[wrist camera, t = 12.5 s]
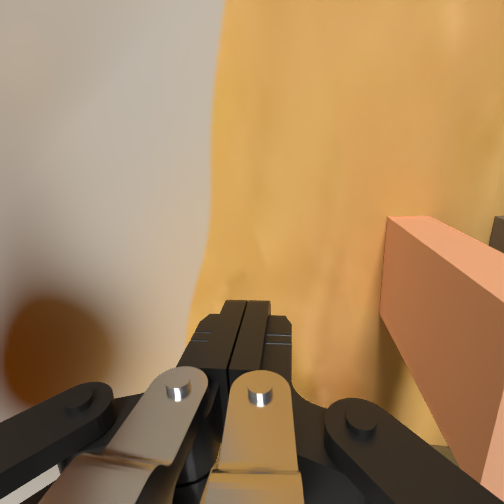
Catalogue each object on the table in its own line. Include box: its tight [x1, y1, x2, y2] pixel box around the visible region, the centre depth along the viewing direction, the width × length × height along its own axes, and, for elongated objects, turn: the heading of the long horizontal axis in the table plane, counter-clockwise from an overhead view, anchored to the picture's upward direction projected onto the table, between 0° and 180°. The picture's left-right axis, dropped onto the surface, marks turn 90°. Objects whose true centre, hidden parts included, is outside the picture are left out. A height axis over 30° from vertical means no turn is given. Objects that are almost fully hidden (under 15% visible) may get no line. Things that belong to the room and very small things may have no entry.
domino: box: [379, 216, 504, 502], centre depth 11 cm, size 5×2×9 cm, turn 3°
